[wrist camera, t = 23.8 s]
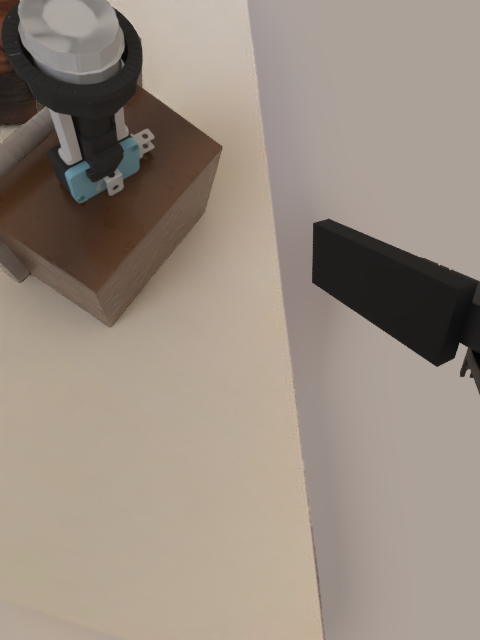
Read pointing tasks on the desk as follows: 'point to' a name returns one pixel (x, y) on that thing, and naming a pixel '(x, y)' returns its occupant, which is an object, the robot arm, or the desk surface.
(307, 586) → the desk surface
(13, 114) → the pottery mug
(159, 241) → the box
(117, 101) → the push button
